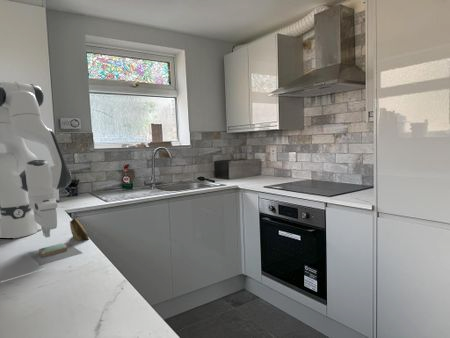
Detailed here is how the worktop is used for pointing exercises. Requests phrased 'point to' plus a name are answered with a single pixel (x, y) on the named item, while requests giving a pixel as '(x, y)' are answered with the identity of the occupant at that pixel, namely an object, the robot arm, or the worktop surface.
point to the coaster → (52, 250)
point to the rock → (78, 230)
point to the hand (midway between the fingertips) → (46, 236)
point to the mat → (55, 255)
